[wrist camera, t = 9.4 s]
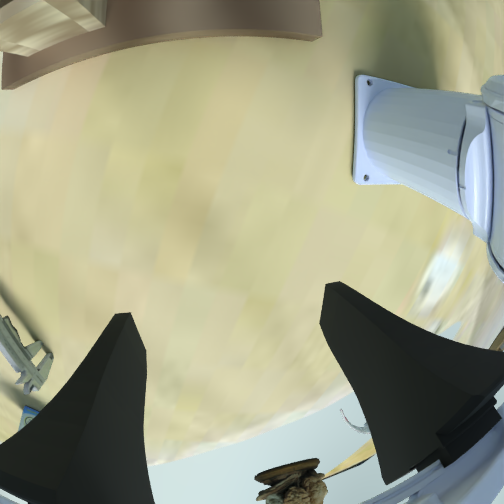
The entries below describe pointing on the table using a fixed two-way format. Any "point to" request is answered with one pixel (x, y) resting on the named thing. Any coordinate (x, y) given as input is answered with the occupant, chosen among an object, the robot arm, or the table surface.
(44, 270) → the table surface
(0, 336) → the caliper
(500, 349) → the lamp
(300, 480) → the owl figurine
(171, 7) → the brown board with peg
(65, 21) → the hollow square tube
